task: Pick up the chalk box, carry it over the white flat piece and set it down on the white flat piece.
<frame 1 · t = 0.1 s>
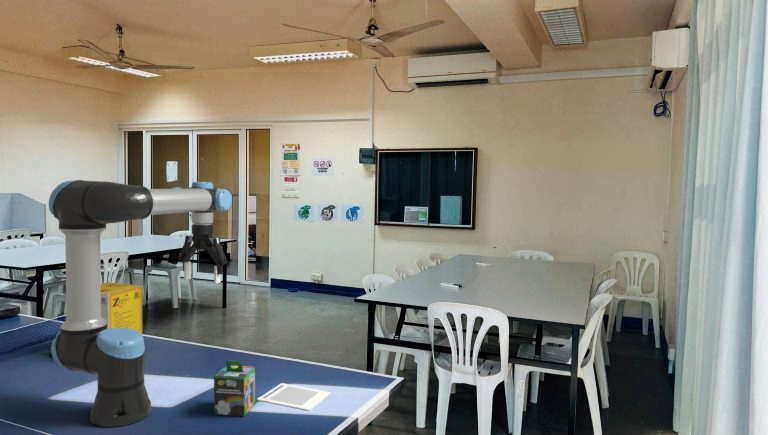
hand: (202, 281, 197), 28 cm above the table, tool pointing down, fingers open, 13 cm apart
white flat piece: (294, 396, 165), on the table
chalk box: (234, 410, 154), on the table
packaging box: (108, 355, 197), on the table
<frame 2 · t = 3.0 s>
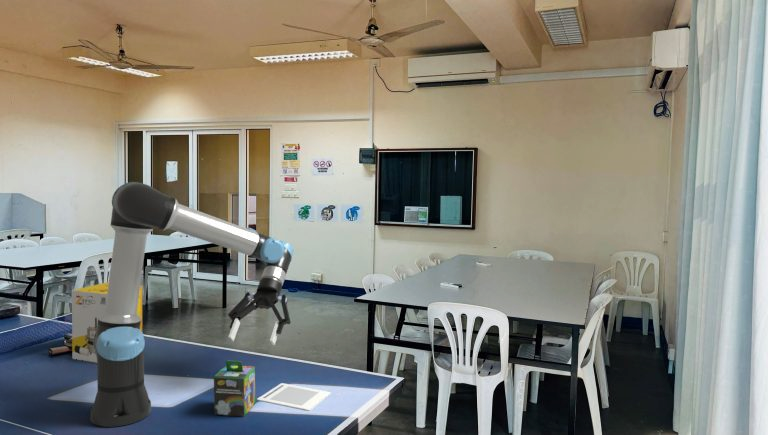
hand: (251, 341, 163), 17 cm above the table, tool tilted 45°, fingers open, 13 cm apart
nothing on the table moved.
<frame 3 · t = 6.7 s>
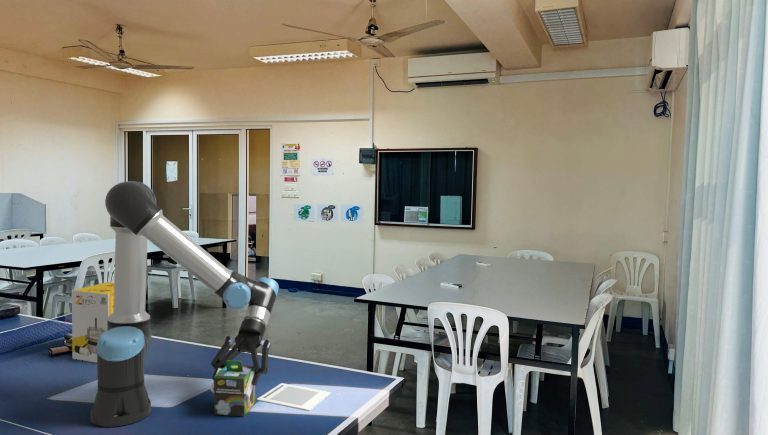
hand: (229, 393, 151), 6 cm above the table, tool tilted 45°, fingers closed on chalk box, 9 cm apart
chalk box: (234, 410, 154), on the table, touching gripper
everything else where it was.
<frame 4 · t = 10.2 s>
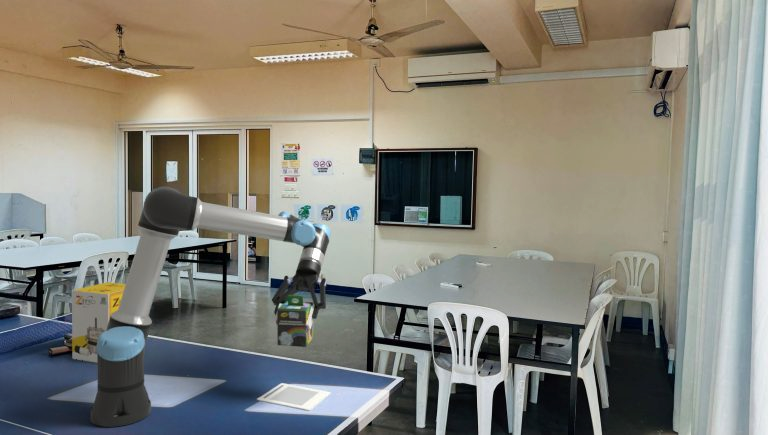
hand: (292, 325, 160), 23 cm above the table, tool tilted 45°, fingers closed on chalk box, 9 cm apart
chalk box: (295, 342, 163), point 17 cm above the table, touching gripper
everything else where it was.
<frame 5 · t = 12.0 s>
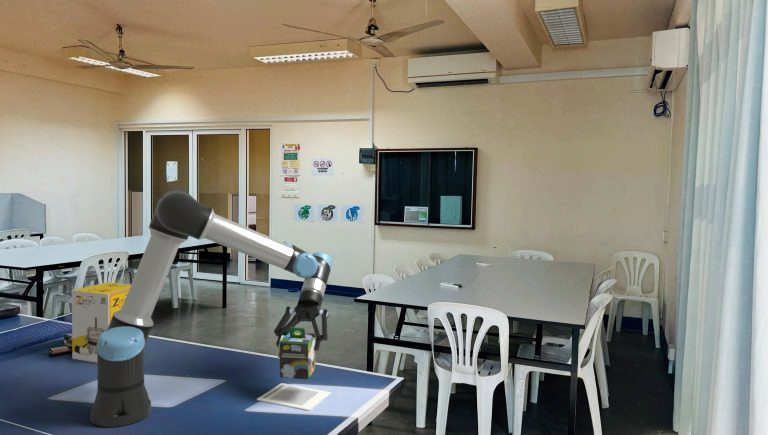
hand: (294, 358, 161), 13 cm above the table, tool tilted 45°, fingers closed on chalk box, 9 cm apart
chalk box: (297, 374, 164), point 7 cm above the table, touching gripper
everything else where it was.
when the fingers open (7 cm above the table, at t = 13.6 s): chalk box drops 1 cm, resting on white flat piece.
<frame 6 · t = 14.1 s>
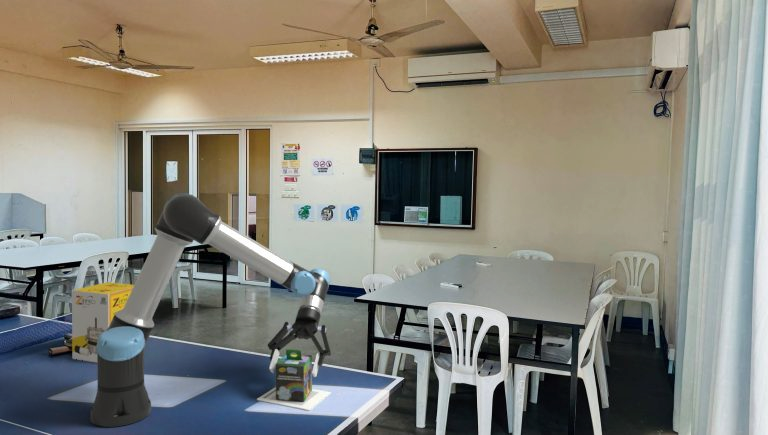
hand: (292, 373, 162), 8 cm above the table, tool tilted 45°, fingers open, 13 cm apart
chalk box: (293, 396, 165), resting on white flat piece
everything else where it was.
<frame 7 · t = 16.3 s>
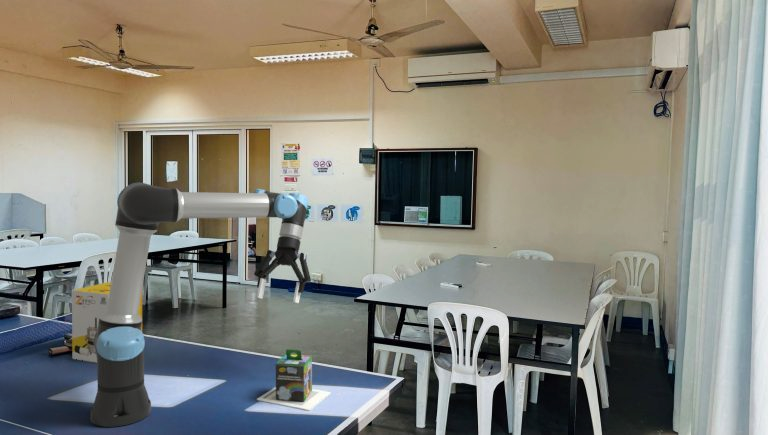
hand: (277, 300, 176), 27 cm above the table, tool tilted 20°, fingers open, 13 cm apart
nothing on the table moved.
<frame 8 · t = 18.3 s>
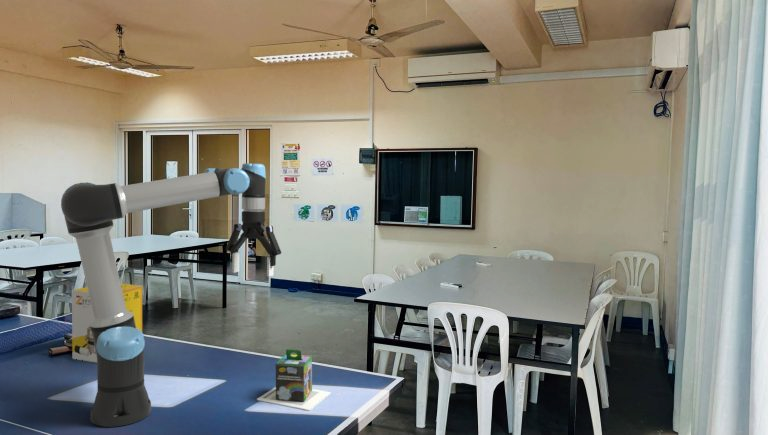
hand: (252, 274, 178), 35 cm above the table, tool pointing down, fingers open, 13 cm apart
nothing on the table moved.
at the end: chalk box inside the target area (0.3 cm from its centre), resting on white flat piece; chalk box tilted 0°; the gripper is holding nothing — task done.
